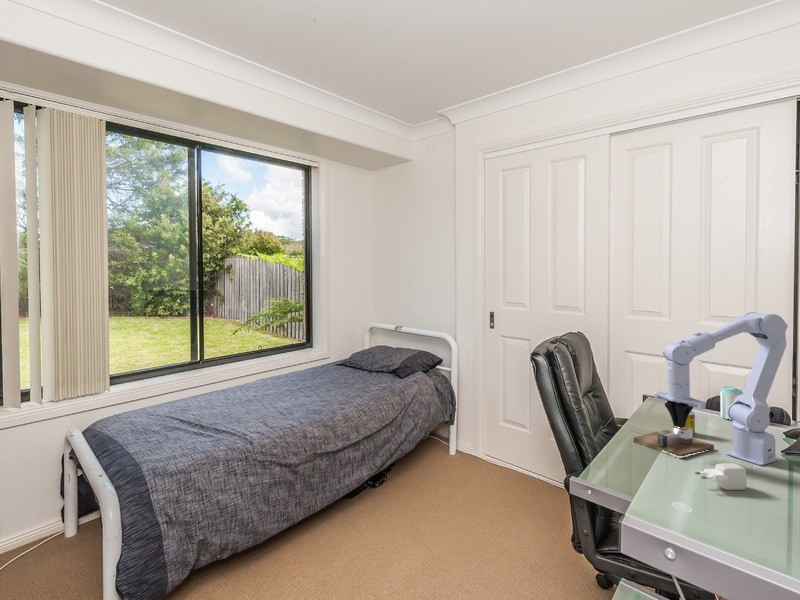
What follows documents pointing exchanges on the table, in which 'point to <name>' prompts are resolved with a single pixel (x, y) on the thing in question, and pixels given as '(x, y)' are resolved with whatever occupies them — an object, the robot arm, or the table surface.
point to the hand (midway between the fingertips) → (679, 426)
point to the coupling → (676, 437)
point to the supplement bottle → (691, 421)
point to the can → (728, 399)
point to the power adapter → (727, 476)
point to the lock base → (676, 449)
